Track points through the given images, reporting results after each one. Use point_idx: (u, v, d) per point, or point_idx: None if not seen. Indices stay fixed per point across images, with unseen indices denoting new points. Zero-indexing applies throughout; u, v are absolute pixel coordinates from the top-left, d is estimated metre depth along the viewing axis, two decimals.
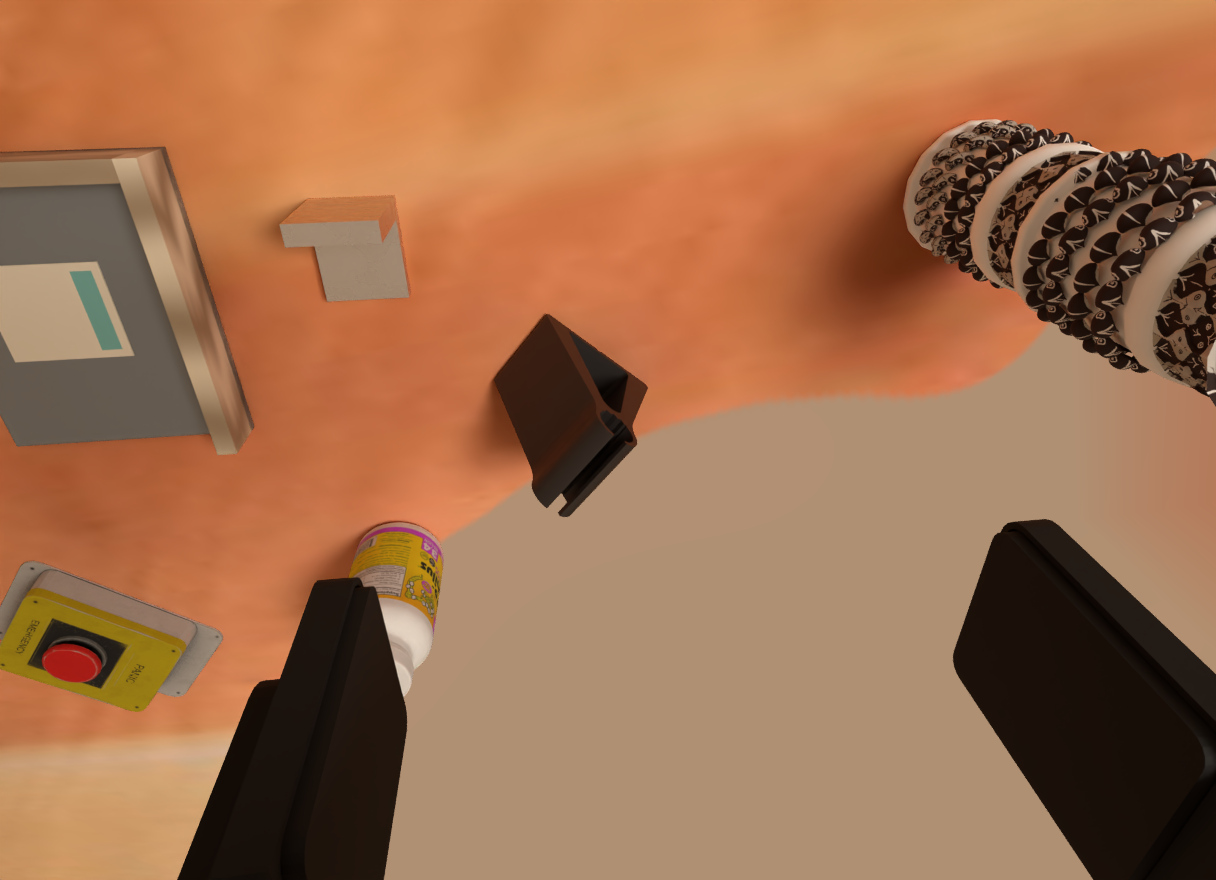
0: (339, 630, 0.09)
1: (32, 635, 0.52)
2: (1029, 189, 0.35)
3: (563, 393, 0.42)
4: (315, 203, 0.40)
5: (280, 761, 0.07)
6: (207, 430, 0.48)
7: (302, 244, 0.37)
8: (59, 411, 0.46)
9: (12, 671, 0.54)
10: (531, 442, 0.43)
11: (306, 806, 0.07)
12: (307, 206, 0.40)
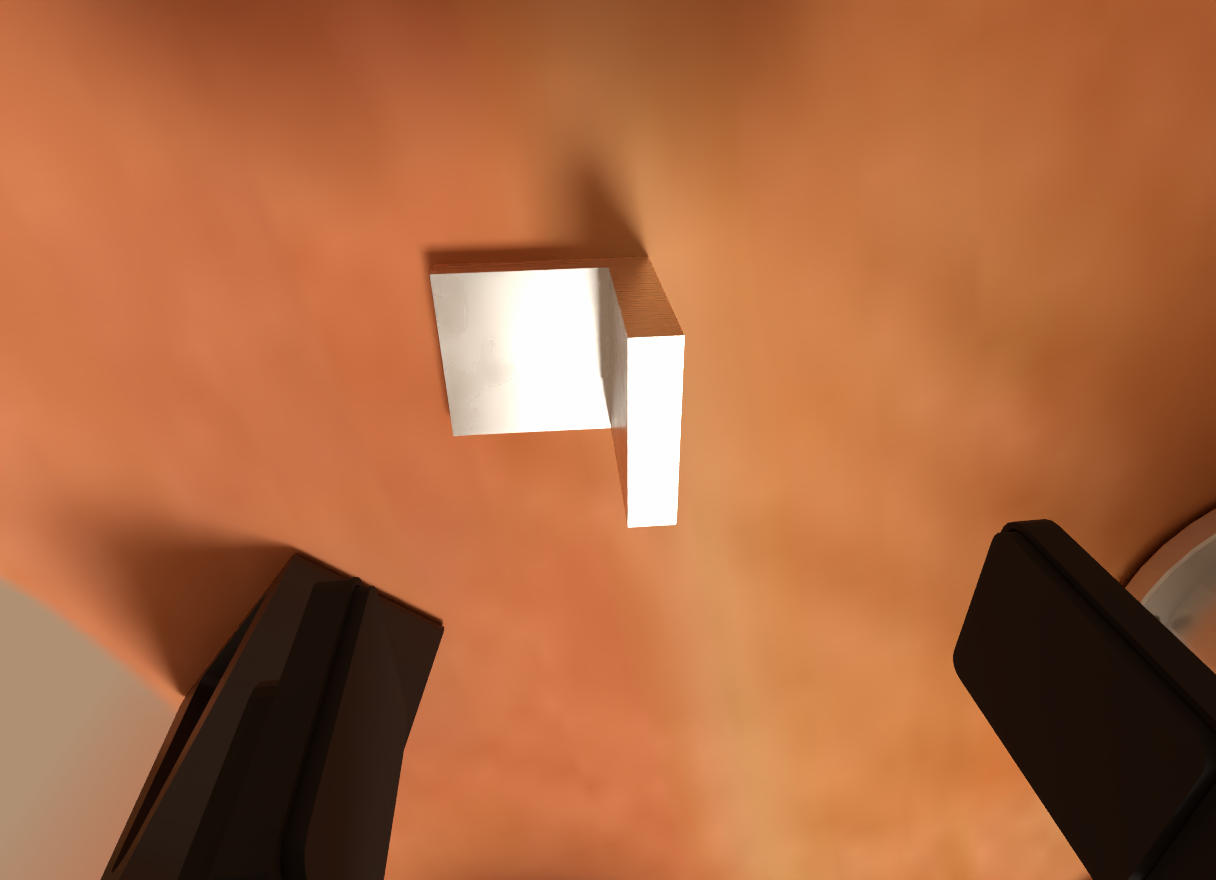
0: (339, 630, 0.09)
1: None
2: None
3: None
4: None
5: (279, 762, 0.07)
6: None
7: (633, 377, 0.15)
8: None
9: None
10: (198, 794, 0.19)
11: (306, 806, 0.07)
12: None
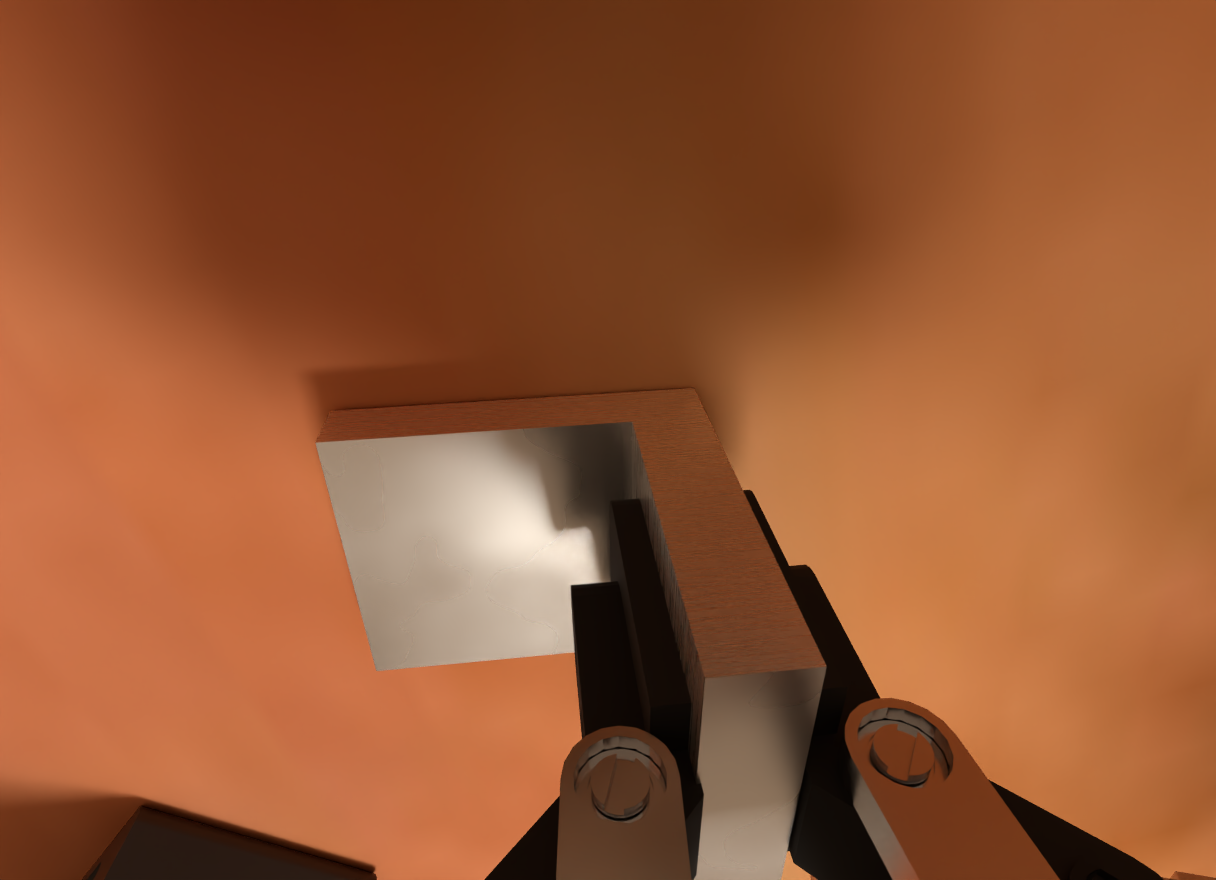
0: None
1: None
2: None
3: None
4: None
5: (660, 629, 0.08)
6: None
7: (711, 738, 0.07)
8: None
9: None
10: None
11: None
12: None
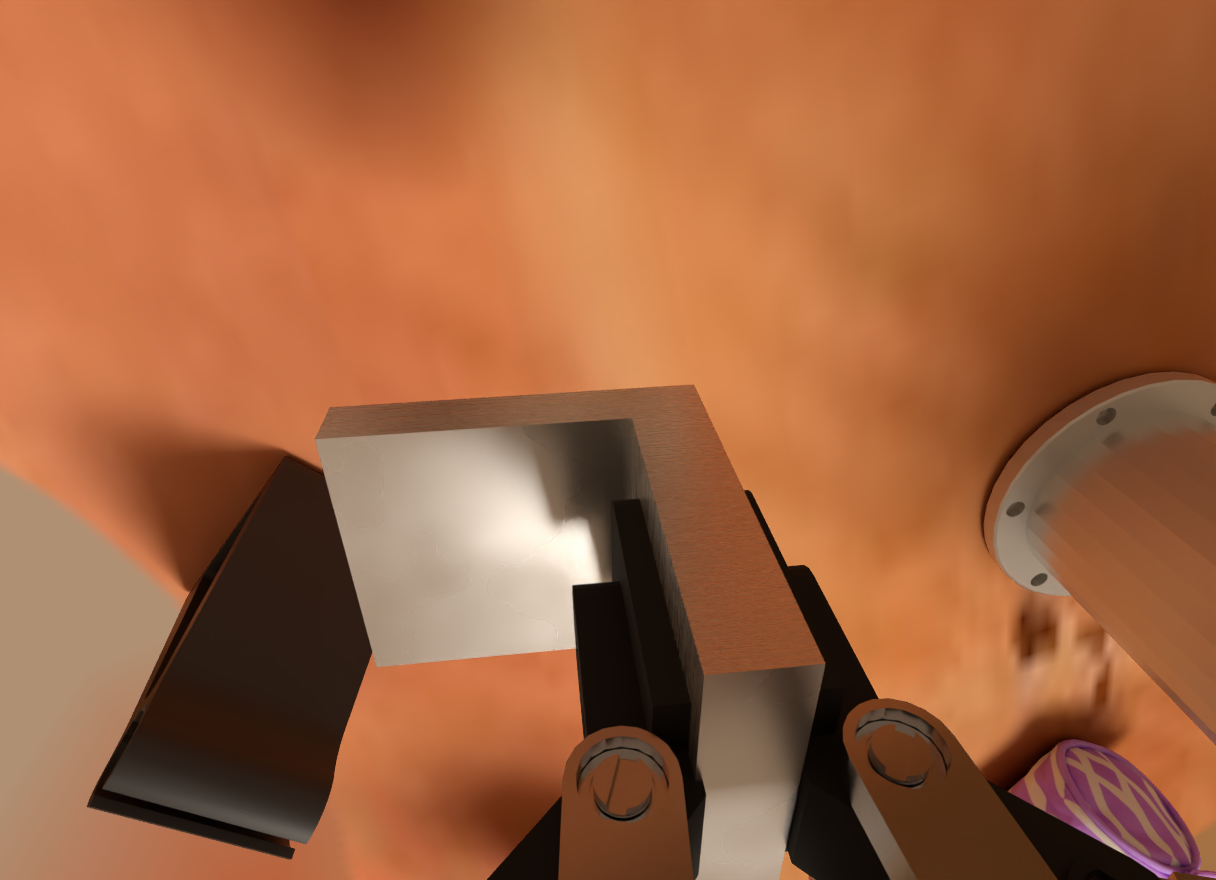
0: None
1: None
2: None
3: (324, 655, 0.25)
4: None
5: (663, 629, 0.08)
6: None
7: (710, 735, 0.07)
8: None
9: None
10: (215, 636, 0.23)
11: None
12: None
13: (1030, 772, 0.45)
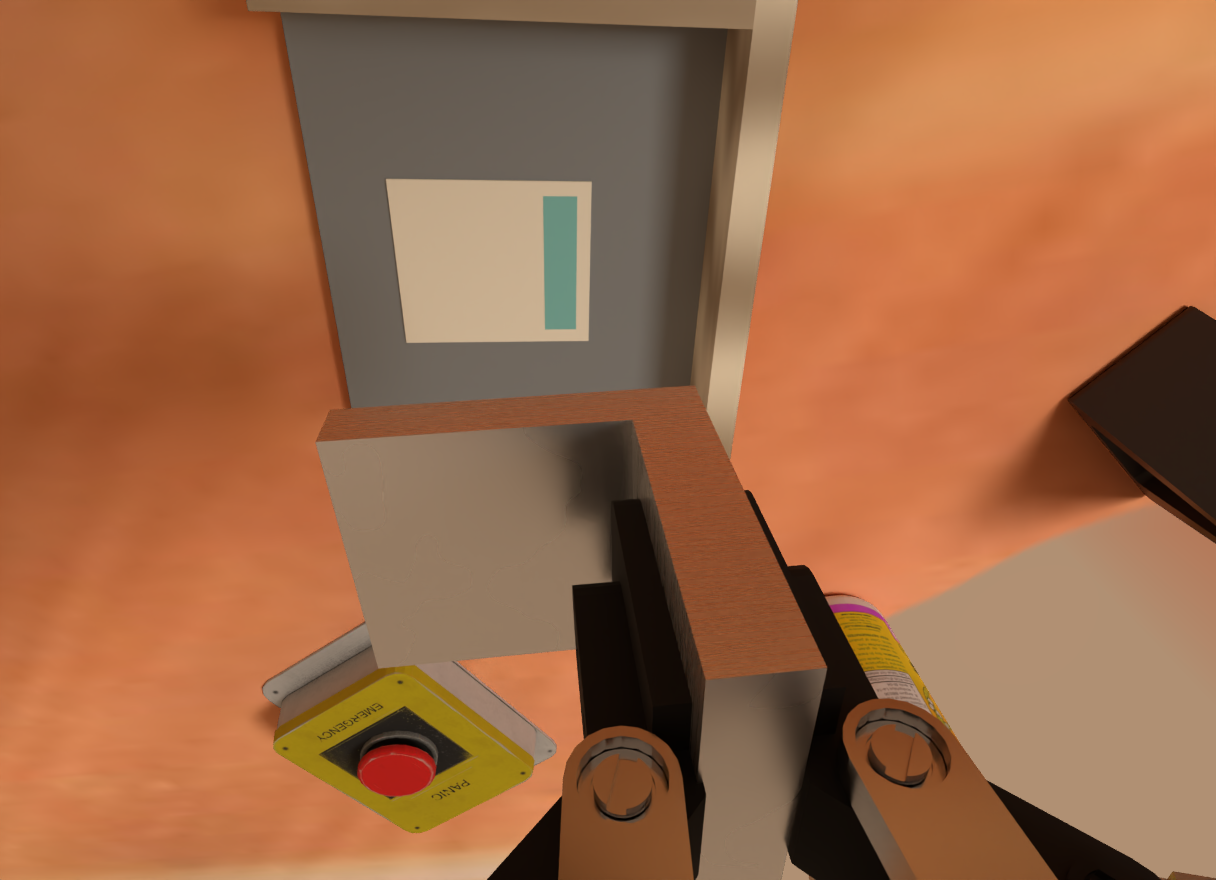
0: None
1: (358, 721, 0.35)
2: None
3: None
4: None
5: (662, 629, 0.08)
6: None
7: (712, 739, 0.07)
8: None
9: (291, 758, 0.36)
10: None
11: None
12: None
13: None
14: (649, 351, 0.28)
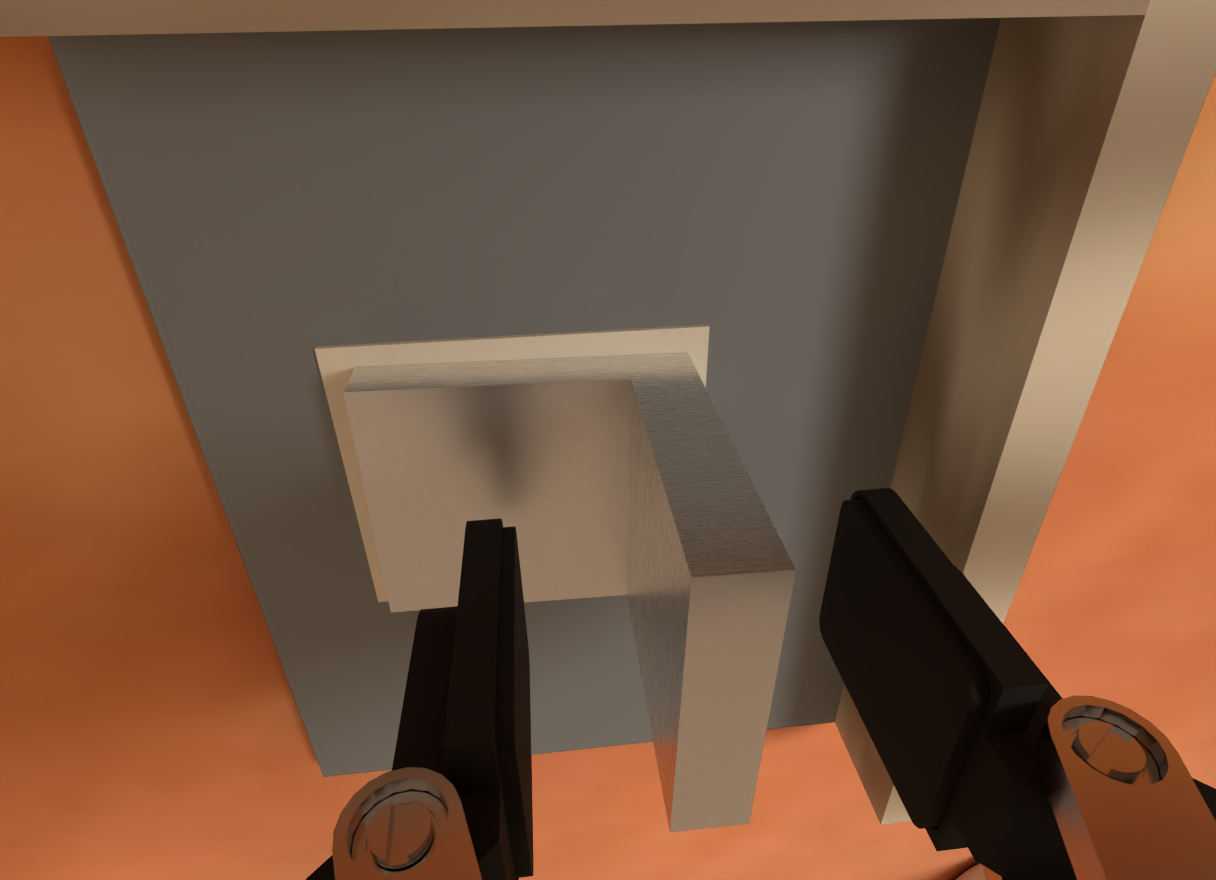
0: (498, 560, 0.10)
1: None
2: None
3: None
4: None
5: (477, 662, 0.08)
6: (780, 721, 0.19)
7: (696, 635, 0.08)
8: None
9: None
10: None
11: (507, 696, 0.08)
12: None
13: None
14: (795, 579, 0.17)
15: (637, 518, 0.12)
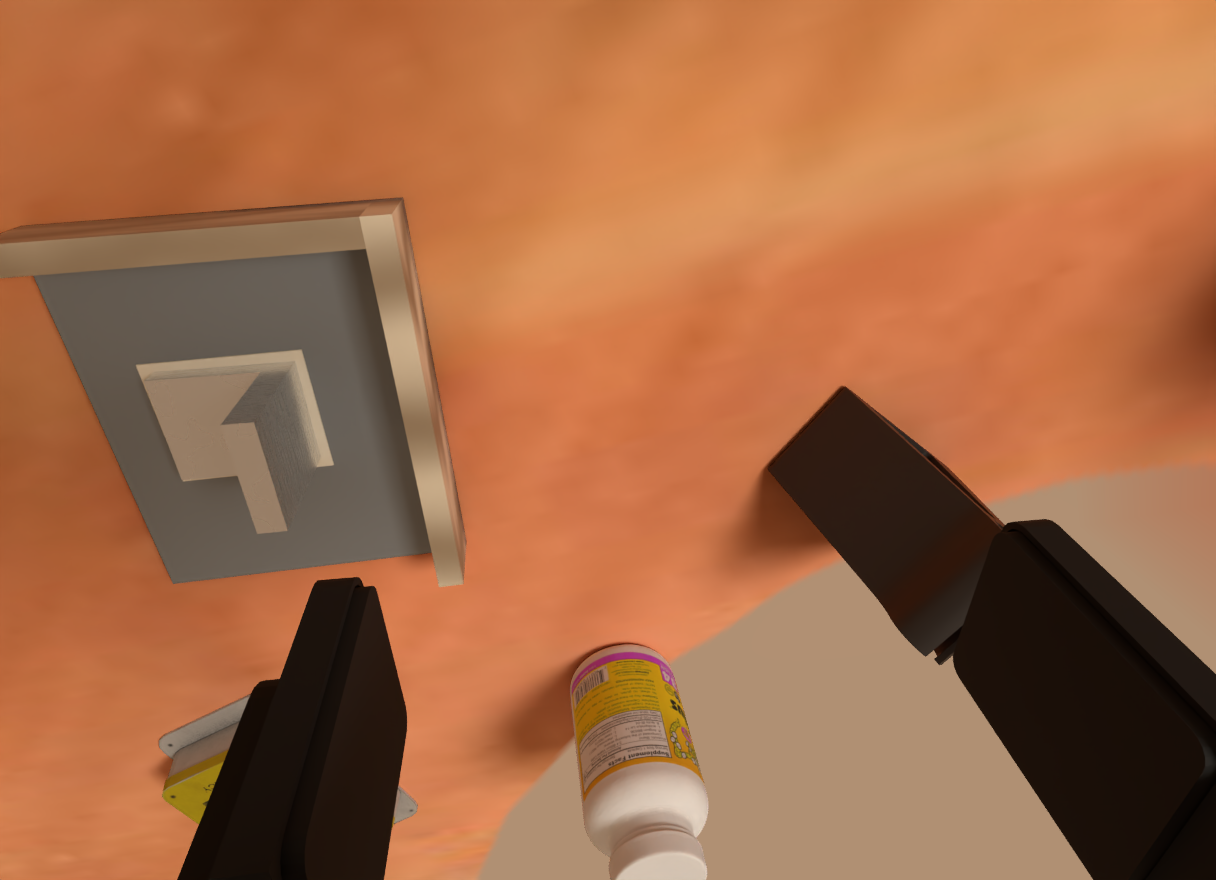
0: (339, 630, 0.09)
1: None
2: None
3: (910, 495, 0.32)
4: (290, 390, 0.31)
5: (279, 763, 0.07)
6: (412, 550, 0.37)
7: (230, 446, 0.27)
8: (231, 538, 0.35)
9: (176, 806, 0.41)
10: (865, 559, 0.33)
11: (306, 806, 0.07)
12: (284, 390, 0.30)
13: None
14: (388, 467, 0.35)
15: None
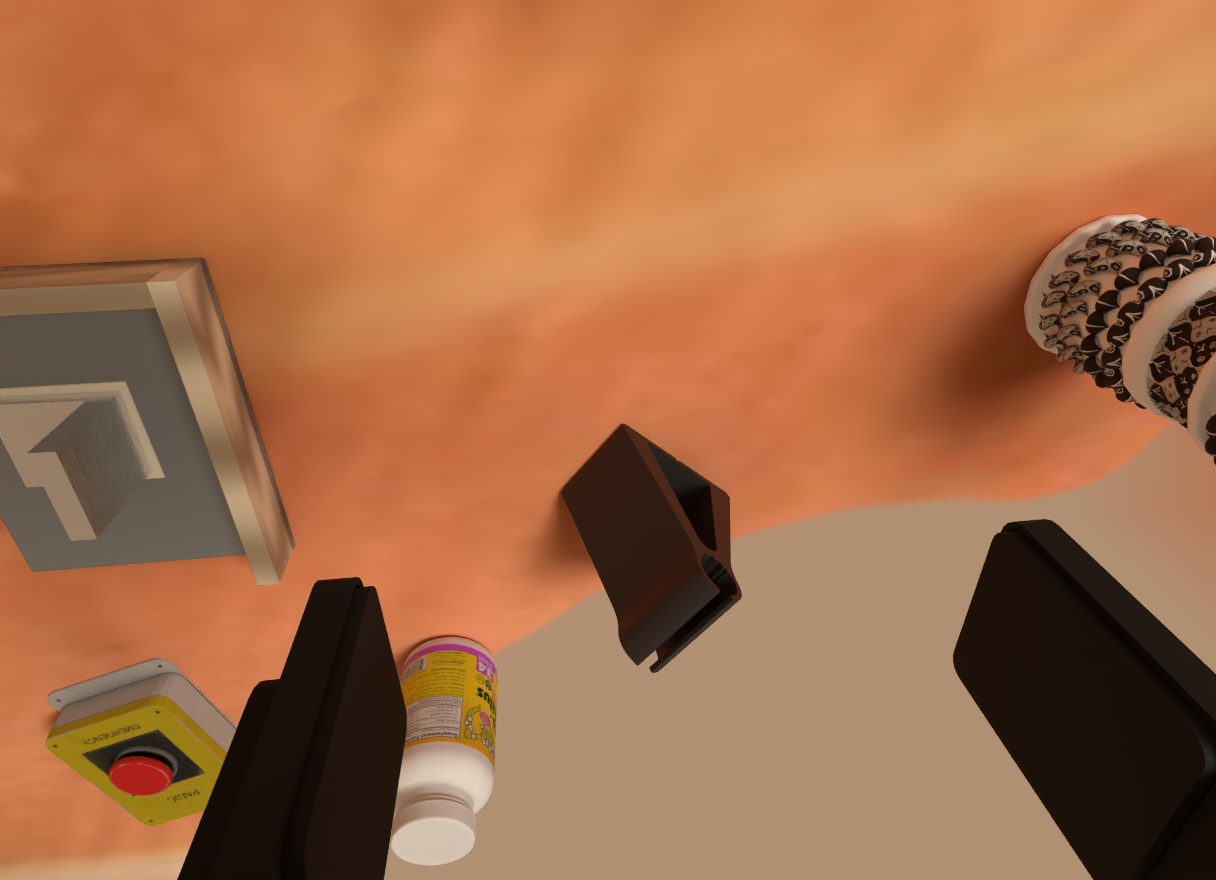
0: (339, 630, 0.09)
1: (119, 734, 0.47)
2: (1210, 319, 0.30)
3: (650, 526, 0.38)
4: (111, 417, 0.36)
5: (279, 763, 0.07)
6: (244, 551, 0.43)
7: (38, 470, 0.32)
8: None
9: (58, 754, 0.47)
10: (613, 578, 0.38)
11: (306, 806, 0.07)
12: (102, 418, 0.35)
13: None
14: (214, 481, 0.40)
15: None
